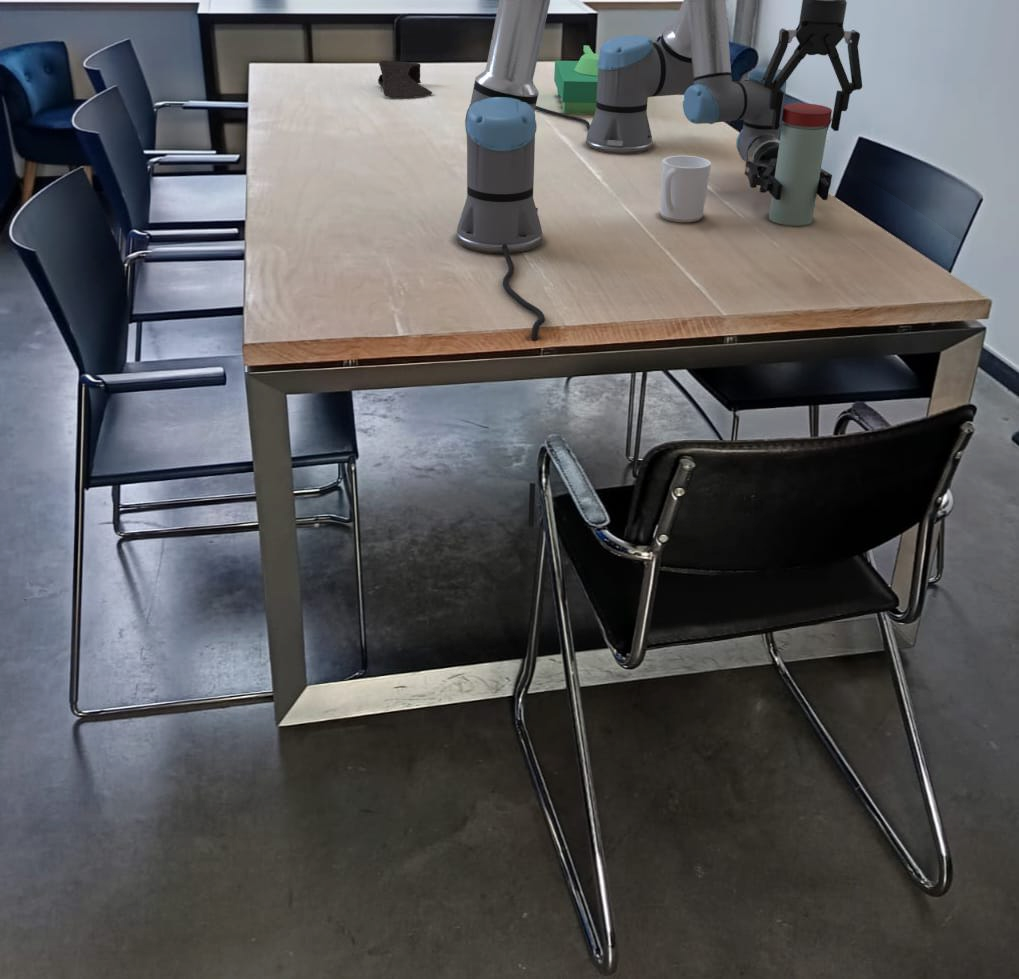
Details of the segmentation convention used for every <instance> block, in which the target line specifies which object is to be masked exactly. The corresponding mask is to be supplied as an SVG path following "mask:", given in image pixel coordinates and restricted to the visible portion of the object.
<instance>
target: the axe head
mask: <svg viewBox="0 0 1019 979" xmlns="http://www.w3.org/2000/svg"><path fill="white" fill-rule="evenodd" d="M378 66H379V68H380V72H381V74H379V75H378V79H377V84H378V85H379V86H380V87H381V88H382V89H383V95H384V96H385V97H388V98H394V99H395V98H396V99H403V98H405V99H406V98H407V99H411V98H418V97H425V96H429V95H432V94H433V91H431V90H430V89H428V88H427V87H425V86H422V85H421V84H422V82H421V63H419V62H410V61H408V62H407V61H397V60H388V59H387V60H380V61H379V62H378Z"/></svg>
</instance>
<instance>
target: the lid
mask: <svg viewBox="0 0 1019 979" xmlns="http://www.w3.org/2000/svg"><path fill="white" fill-rule="evenodd" d="M832 114H833V110H832V109H831V108H830V107H828V106H825V105H821V104H815V103H804V102H803V103H802V102H799V103H798V102H797V103H789V104H785V105H783V109H782V114H781V121H782V123H783V122H785V123H788V124H791V125H796V126H804V127H821V126H826V125H828V126H829V125H831V120H832Z"/></svg>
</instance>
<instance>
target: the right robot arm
mask: <svg viewBox="0 0 1019 979" xmlns="http://www.w3.org/2000/svg"><path fill="white" fill-rule="evenodd" d="M652 39H653V38H651V37H649V36H646V35H642V34H641V35H639V34H634V35H623V36H617V37H612V38H610V39H608V40H606V41H604V43H603V44H602V45H601V46H600V49H599V53H598V54H599V60H598V82H597V100H596V111H595V114H593V117H592V120H591V123H590V122H589V121H588V120H587V119H585V118H581V117H579V116H575V115H570V114H564V113H563V112H558V111H555V110H551V109H547V108H544V107H541V106H539V105H536V107H535V111H538V112H539V111H540V112H543V113H545V114H548V115H552V116H556V117H559V118H564V119H568V120H572V121H576V122H579V123H583V124H585V126H586V129H587V130H588V131H587V133H586V138H585V145H586V147H587V148H589V149H591V150H594V151H597V152H603V153H608V154H623V155H625V154H627V155H628V154H638V153H639V154H641V153H644V152H647V151H650V150H651V149H652V148H653V147H652V146H653V135H652V132H651V128H650V122H649V118H648V112H647V110H648V99H649V98H655V97H667V96H683V101H682V110H683V113H684V116H685V118H686V119H687V120H688V121H689V122H690V123H691V124H694V125H698V124H699V125H701V124H702V125H703V124H709V125H713V124H716V123H725V122H733V121H736V122H737V121H743V125H742V129H741V130H740V132H739V133H738V135H737V138H736V143H735V144H736V150H737V152H738V154H739V156H740V158H741V159H742V160H743V161H744V162H745V168H744V175H745V176H746V177H747V178H748V184H749V187H750V188H752V189H755V188H756V189H757V186H758V187H759V193H761V194H765V193H767V192H768V193H769V194H770V195H771V197H772V196H773V197H774V198H775V199H776V200H780V197H781V190H782V185H781V184H780V183H779V182H778V180H777V179H776V178H775V171H776V164H777V157H778V150H779V144H780V138H779V137H780V132H781V131H780V129H781V121H782V115H783V108H784V103H785V96H786V94H787V92H786V91H787V81H786V82H785V83H784V85H783V86H782V87H781V90H782V91H783V92H784V94H783V101H782V108H781V115H780V122H779V128H778V130H774V129H773V128H772V126H771V125H772V117H773V110H771V109H770V108H769V100H770V93H771V90H770V89H769V88H766V87H764V86H763V84H762V79H763V77H764V74H765V72H766V70H767V67H768V66H766V67H765V66H759V67H756V68H755V67H754V68H752V69H751V70H750V72H749V76H748V80H739V81H736V80H735V81H733V78H732V68H731V67H732V66H731V54H730V52H731V51H730V41H729V40H730V39H729V26H728V12H727V0H683V1H682V3H681V5H680V8H679V10H678V13H677V15H676V17H675V19H674V21H673V22H672V23H669V24H668V25H666V26H665V27H664V29H663V31H662V33H661V36H660V39H659V40H658V41H653V40H652ZM781 70H782V69H781V68H780V69H779V68H778V69H777V72H776V74H775V76H774V79H773V81H774V80H775V78H776V77H777V76H778V74H779V73H780V71H781ZM832 178H833V174H831V172H828V171H826V170H824V169H823V168H821V171H820V177H819V183H818V189H817V196H819V197H820V199H821V200H822V201H828V197H829V192H830V188H831V185H832V184H831V183H832V180H833V179H832Z"/></svg>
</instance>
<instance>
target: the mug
mask: <svg viewBox="0 0 1019 979" xmlns="http://www.w3.org/2000/svg"><path fill="white" fill-rule="evenodd" d="M711 167H712V162H711V161H710V160H709V159H707V158H704V157H700V156H695V155H670V156H667V157H665V158H663V159H662V169H661V170H662V172H661V189H660V190H661V192H660V193H661V195H660V212H659V213H660V216H661V218H663V219H664V220H667V221H670V222H676V223H693V222H695V223H696V222H698V221H700V220H701V219H703V216H704V210H705V204H706V197H707V191H708V185H709V178H710V173H711Z"/></svg>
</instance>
